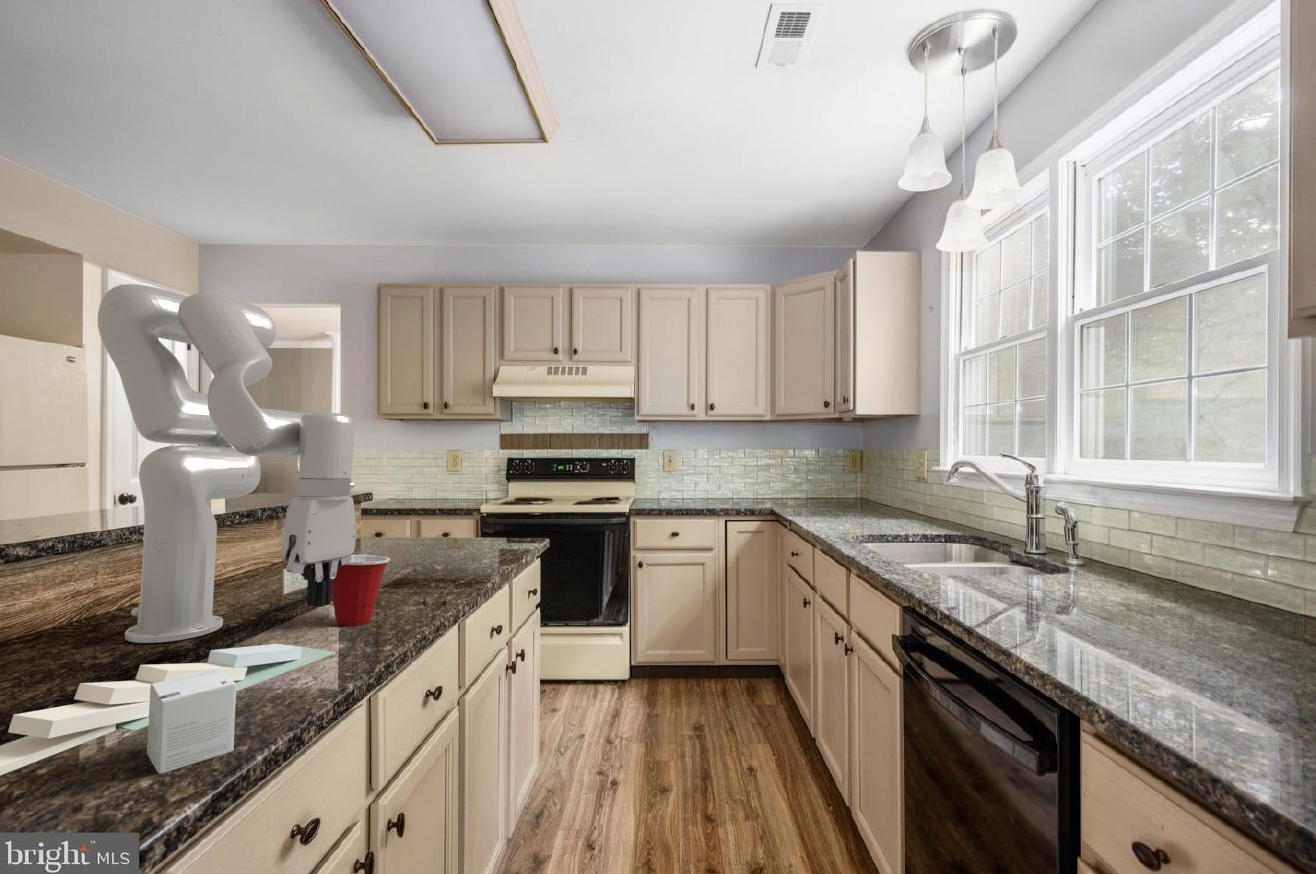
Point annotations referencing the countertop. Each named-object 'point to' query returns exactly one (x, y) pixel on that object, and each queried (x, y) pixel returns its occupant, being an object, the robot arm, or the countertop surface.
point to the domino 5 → (254, 655)
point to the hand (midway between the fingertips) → (318, 604)
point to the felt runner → (253, 677)
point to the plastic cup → (357, 589)
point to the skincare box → (191, 719)
